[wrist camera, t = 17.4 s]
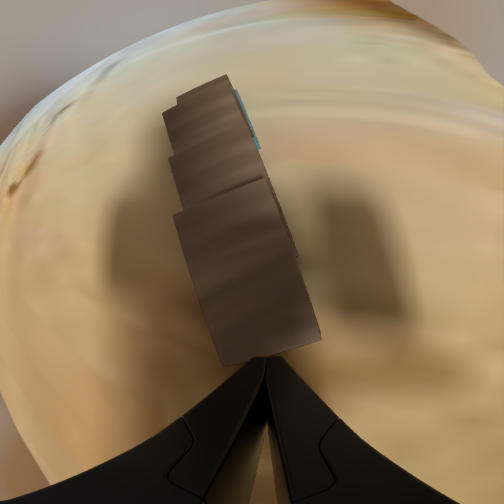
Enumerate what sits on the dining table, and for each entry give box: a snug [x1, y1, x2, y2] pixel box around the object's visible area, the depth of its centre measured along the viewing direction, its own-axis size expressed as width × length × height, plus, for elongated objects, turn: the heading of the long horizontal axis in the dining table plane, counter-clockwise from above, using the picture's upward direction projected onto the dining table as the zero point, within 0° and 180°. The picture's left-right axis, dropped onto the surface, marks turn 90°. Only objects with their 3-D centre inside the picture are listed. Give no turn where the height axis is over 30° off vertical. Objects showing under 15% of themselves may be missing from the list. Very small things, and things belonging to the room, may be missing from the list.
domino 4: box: [173, 177, 322, 367], centre depth 14 cm, size 2×5×8 cm
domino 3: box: [169, 123, 299, 257], centre depth 16 cm, size 2×5×8 cm
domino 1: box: [176, 74, 254, 138], centre depth 21 cm, size 2×5×8 cm
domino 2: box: [162, 83, 245, 155], centre depth 18 cm, size 2×5×8 cm
